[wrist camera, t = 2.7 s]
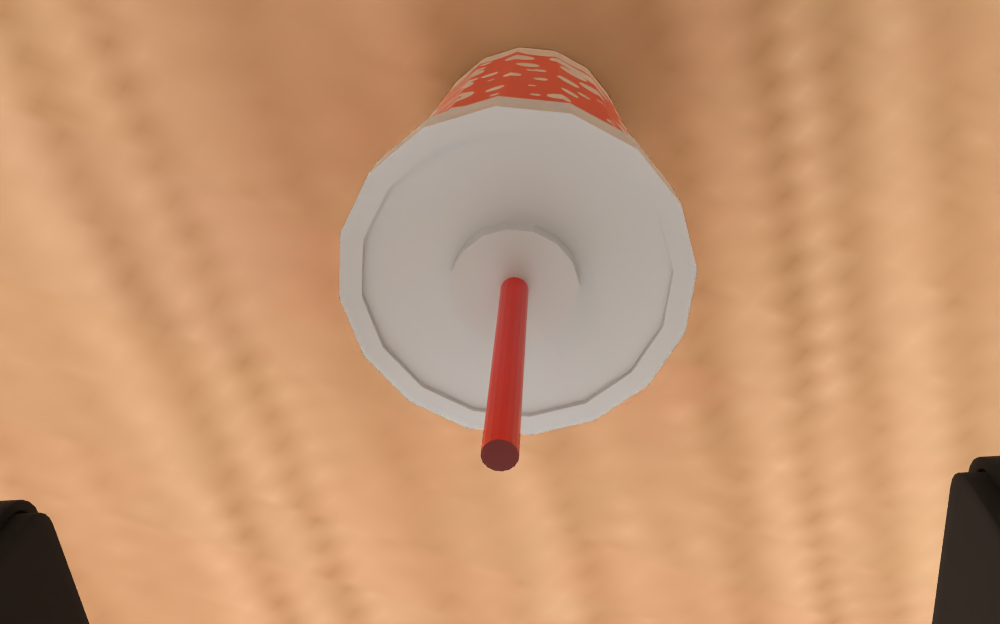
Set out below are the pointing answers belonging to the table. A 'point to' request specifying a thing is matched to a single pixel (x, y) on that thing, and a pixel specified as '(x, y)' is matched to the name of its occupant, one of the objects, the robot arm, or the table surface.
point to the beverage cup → (517, 256)
